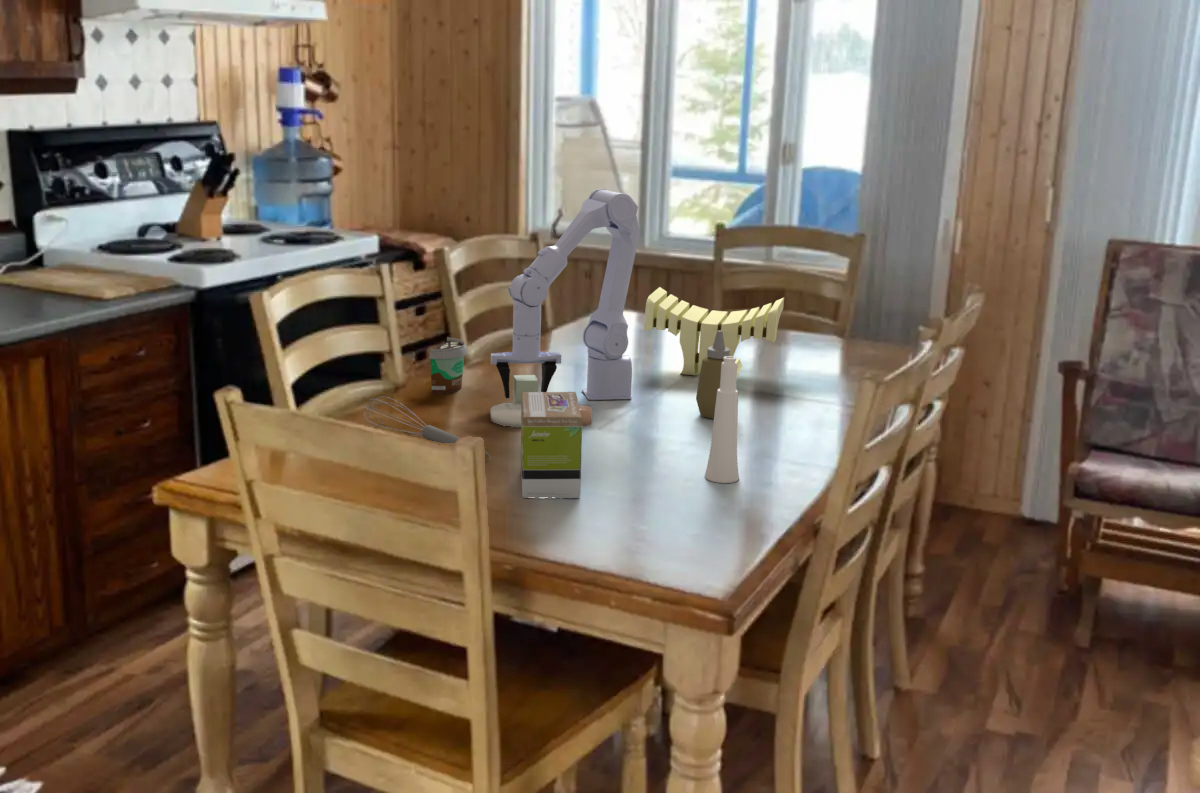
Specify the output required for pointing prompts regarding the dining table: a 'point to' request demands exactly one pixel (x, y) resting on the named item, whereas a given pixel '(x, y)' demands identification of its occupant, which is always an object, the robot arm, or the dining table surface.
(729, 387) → the cosmetic bottle
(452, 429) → the dining table surface
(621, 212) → the robot arm
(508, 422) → the stand
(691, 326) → the slatted curved stool
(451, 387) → the food container
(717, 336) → the squeeze bottle
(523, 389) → the sage block
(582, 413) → the tan rounded knob
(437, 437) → the kitchen whisk
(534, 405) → the tea box
